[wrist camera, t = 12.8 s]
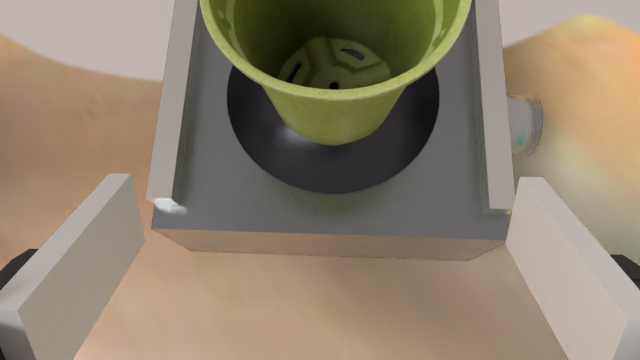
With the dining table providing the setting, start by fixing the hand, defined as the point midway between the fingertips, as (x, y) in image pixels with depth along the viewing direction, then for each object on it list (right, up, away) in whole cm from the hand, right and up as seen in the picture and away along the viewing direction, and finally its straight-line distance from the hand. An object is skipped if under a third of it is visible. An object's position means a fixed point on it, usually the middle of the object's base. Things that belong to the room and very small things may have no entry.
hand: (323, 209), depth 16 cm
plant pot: (+1, +5, +8) cm, 10 cm away
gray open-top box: (+2, +3, +15) cm, 16 cm away
